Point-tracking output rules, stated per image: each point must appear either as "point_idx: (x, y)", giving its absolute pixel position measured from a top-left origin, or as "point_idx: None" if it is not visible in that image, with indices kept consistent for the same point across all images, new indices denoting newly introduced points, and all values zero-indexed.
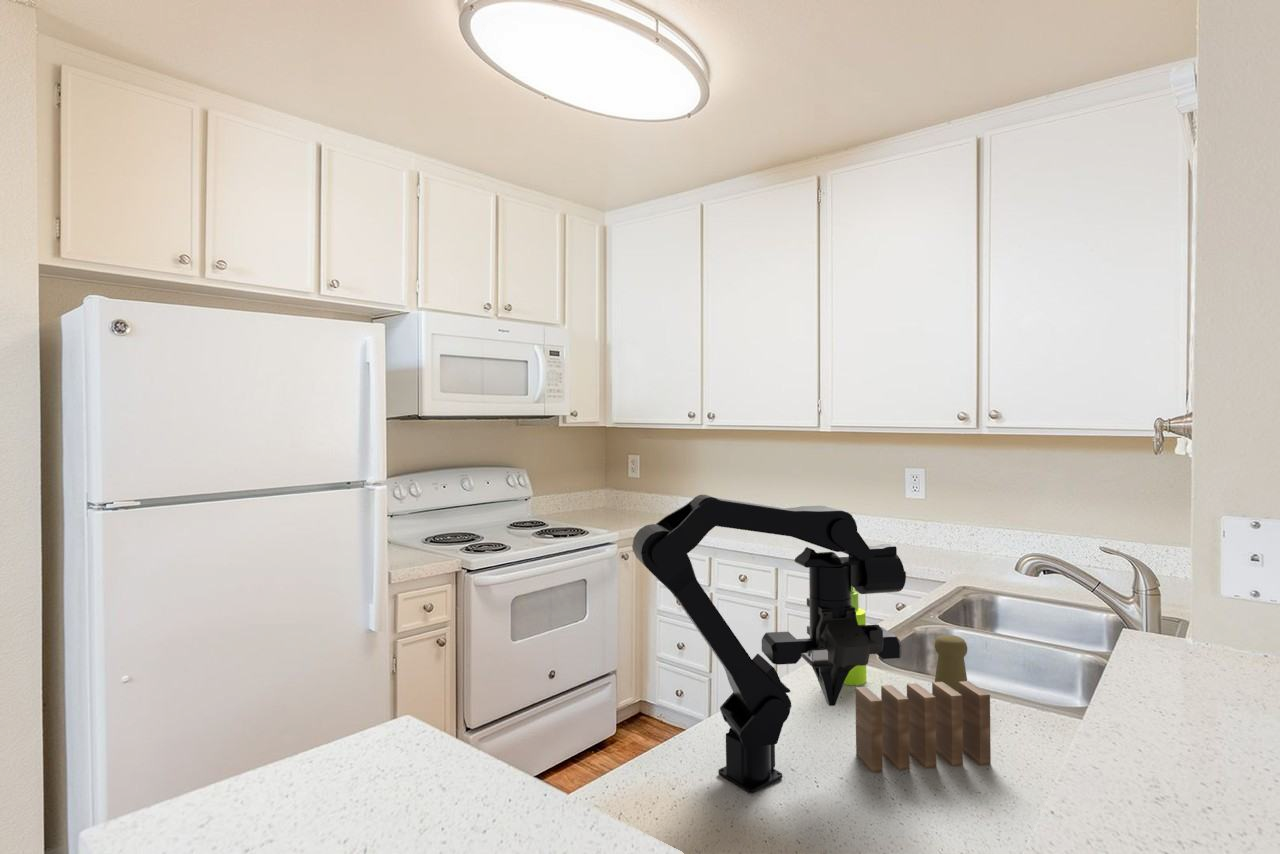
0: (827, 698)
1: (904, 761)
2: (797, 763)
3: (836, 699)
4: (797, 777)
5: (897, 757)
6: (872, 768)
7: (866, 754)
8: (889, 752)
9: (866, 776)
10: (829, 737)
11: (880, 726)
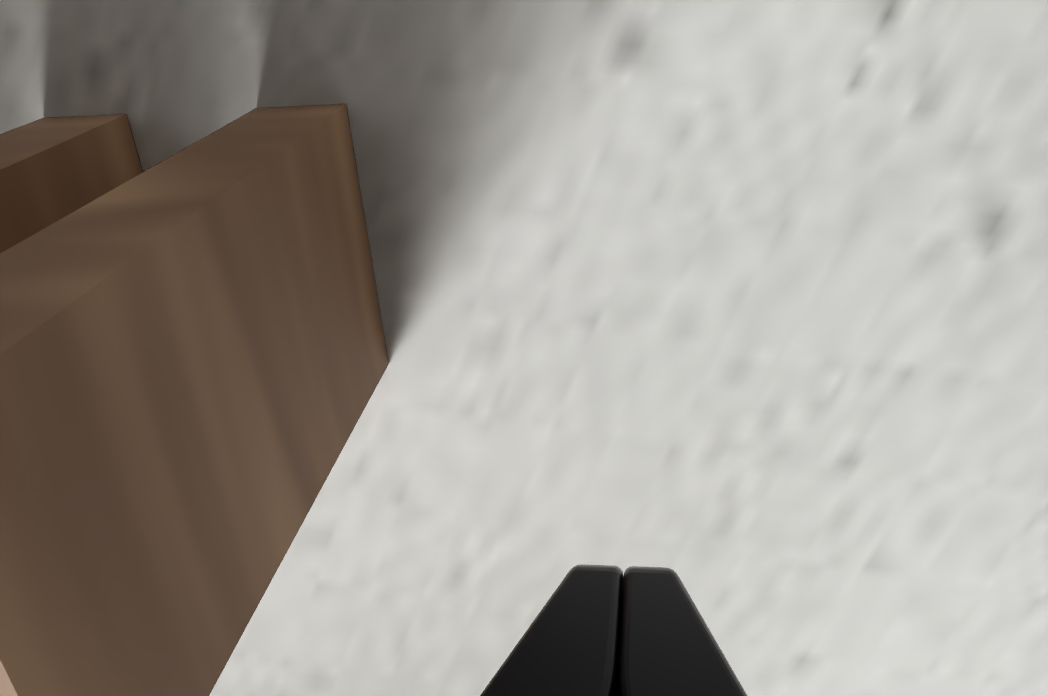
0: (726, 675)
1: (41, 134)
2: (899, 308)
3: (543, 633)
4: (1020, 93)
5: (79, 164)
6: (329, 109)
7: (329, 230)
8: None
9: (407, 49)
10: (500, 588)
11: (39, 241)
